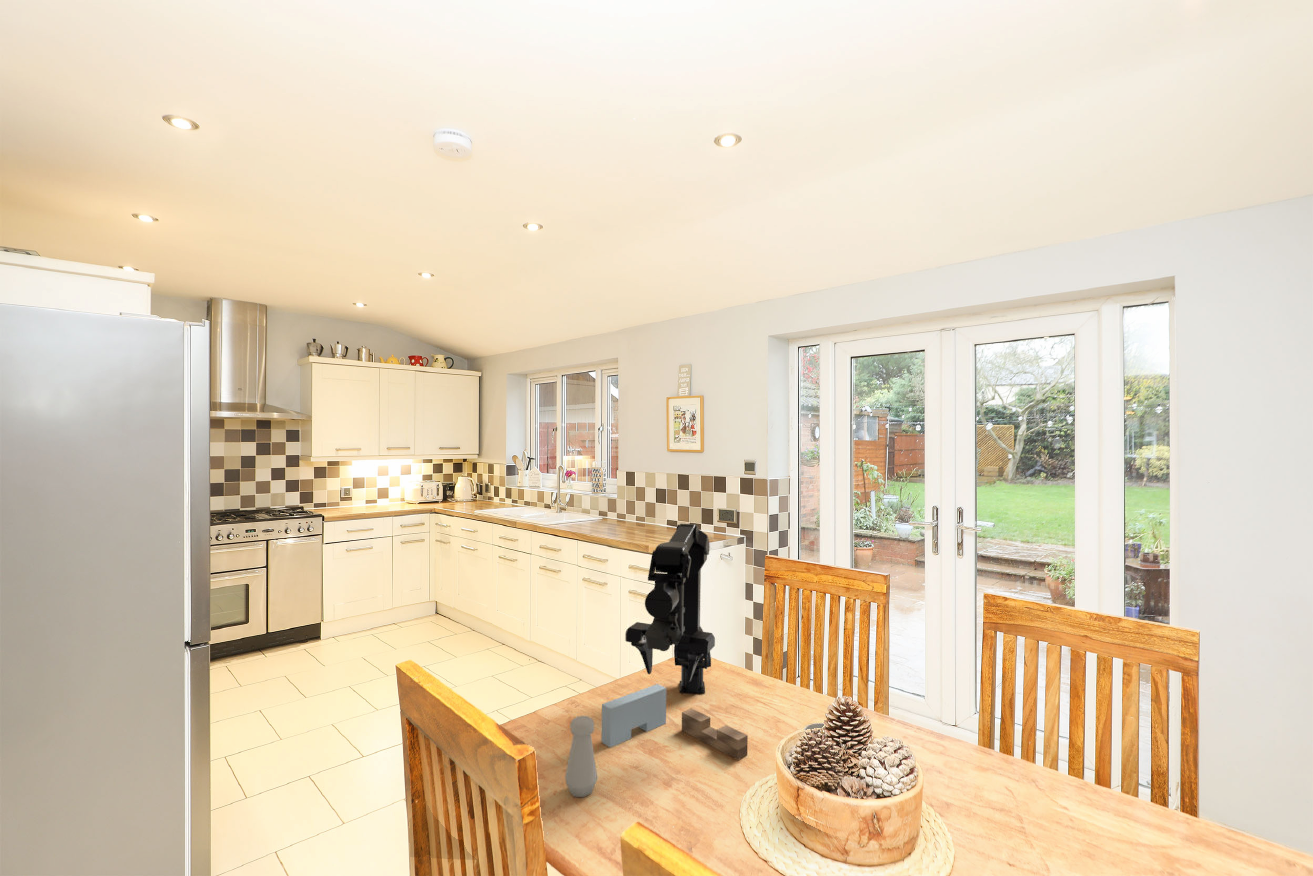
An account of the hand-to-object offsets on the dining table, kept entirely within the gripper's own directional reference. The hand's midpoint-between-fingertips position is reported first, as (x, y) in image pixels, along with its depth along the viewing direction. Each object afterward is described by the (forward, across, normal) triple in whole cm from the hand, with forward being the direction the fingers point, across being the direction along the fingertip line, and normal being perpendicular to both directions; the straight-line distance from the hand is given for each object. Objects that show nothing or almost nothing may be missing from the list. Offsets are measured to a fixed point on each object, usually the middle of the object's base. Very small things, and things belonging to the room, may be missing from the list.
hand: (669, 677), depth 125 cm
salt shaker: (+13, -8, -24) cm, 28 cm away
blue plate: (+13, -8, 0) cm, 15 cm away
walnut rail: (+13, +9, +3) cm, 16 cm away
